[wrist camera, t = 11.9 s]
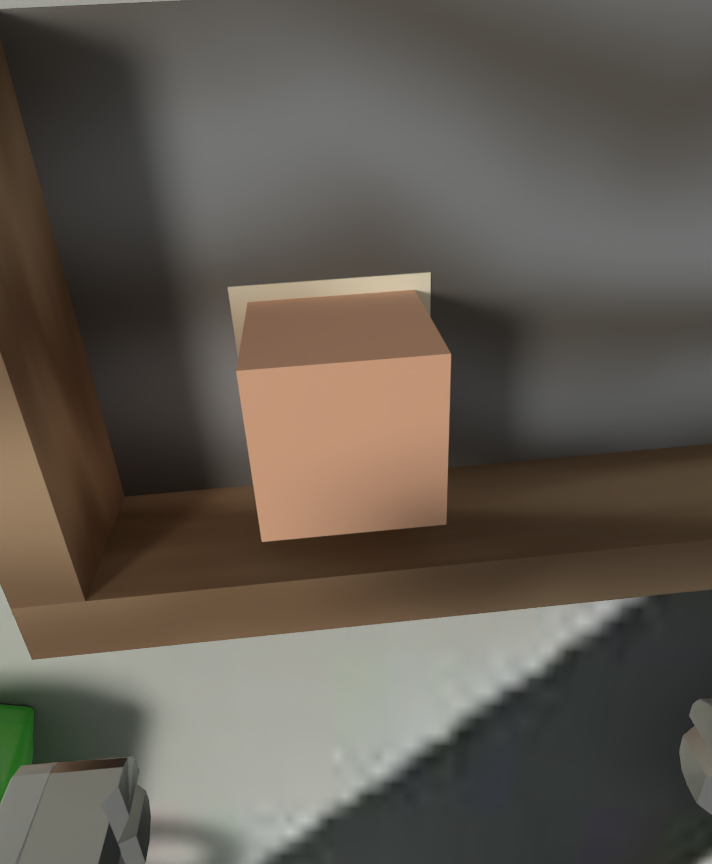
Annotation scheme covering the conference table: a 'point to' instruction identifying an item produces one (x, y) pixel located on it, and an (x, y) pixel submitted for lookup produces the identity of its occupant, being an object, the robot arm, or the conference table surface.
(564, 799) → the conference table surface
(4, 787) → the fruit basket
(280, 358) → the cube
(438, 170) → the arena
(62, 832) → the robot arm
